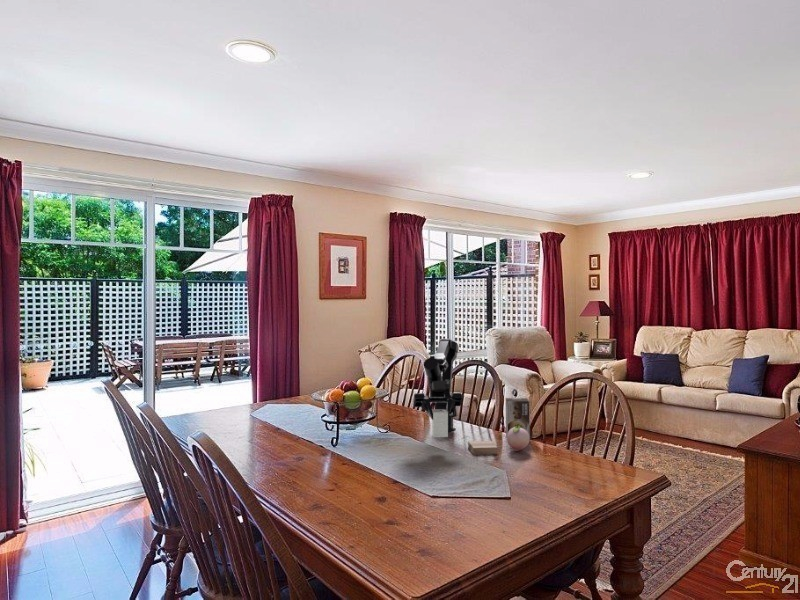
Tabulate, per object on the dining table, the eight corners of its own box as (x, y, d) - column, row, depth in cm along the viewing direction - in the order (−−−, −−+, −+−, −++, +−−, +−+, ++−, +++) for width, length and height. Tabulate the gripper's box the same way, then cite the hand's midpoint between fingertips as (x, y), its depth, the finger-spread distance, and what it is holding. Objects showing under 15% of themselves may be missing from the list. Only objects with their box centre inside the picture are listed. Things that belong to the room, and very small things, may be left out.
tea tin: (431, 434, 194) (431, 409, 194) (446, 434, 194) (446, 409, 194) (433, 437, 190) (433, 411, 190) (448, 436, 190) (448, 411, 190)
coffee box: (527, 436, 214) (527, 397, 214) (530, 440, 207) (529, 400, 207) (505, 435, 215) (505, 397, 215) (507, 440, 208) (507, 400, 208)
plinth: (468, 447, 197) (468, 441, 197) (491, 447, 198) (491, 440, 198) (473, 454, 188) (473, 447, 188) (497, 454, 189) (497, 447, 189)
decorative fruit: (530, 455, 187) (530, 428, 187) (507, 454, 189) (507, 427, 189) (528, 448, 196) (528, 422, 196) (507, 447, 198) (507, 421, 198)
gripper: (413, 372, 195) (417, 407, 184) (461, 371, 197) (468, 406, 186) (411, 389, 203) (414, 423, 192) (457, 388, 205) (463, 422, 194)
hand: (440, 418), depth 191 cm, fingers closed on tea tin, 5 cm apart
